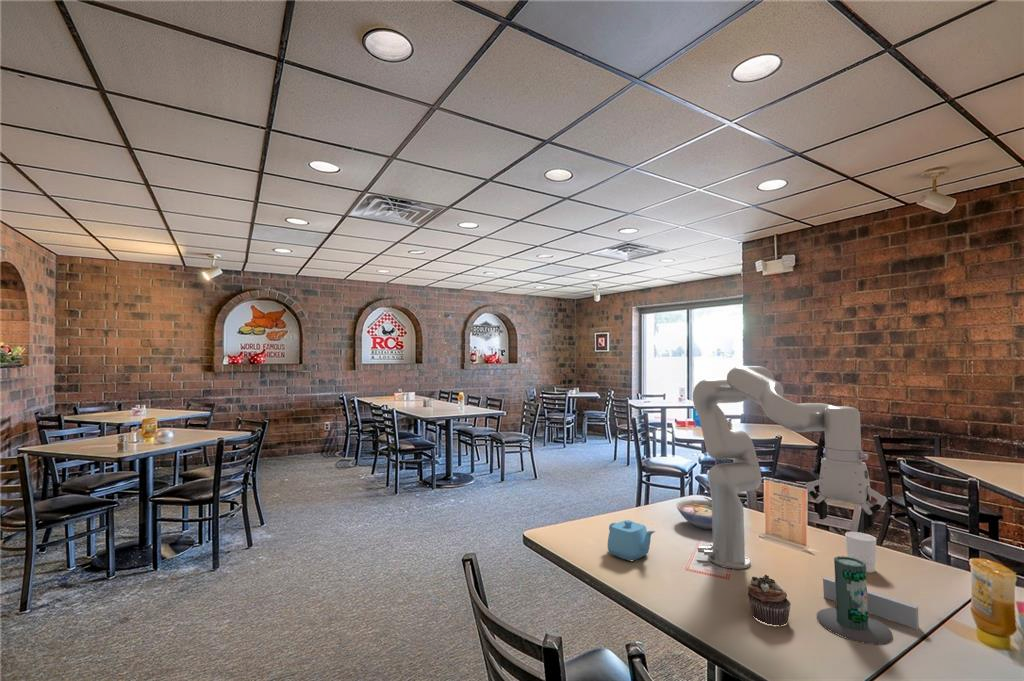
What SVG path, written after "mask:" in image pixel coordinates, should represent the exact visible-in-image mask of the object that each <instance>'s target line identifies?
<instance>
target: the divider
mask: <svg viewBox="0 0 1024 681" xmlns="http://www.w3.org/2000/svg"><path fill="white" fill-rule="evenodd" d="M822 583H823V586H822V587H823V598H825V599H828V600H830V599H831V601H833V600H834V602H836V593H835V579H833V578H829V577H824V578H822ZM867 609H868V612H869V613H868V614H871V613H872V615H874V614H875V615H874V616H877V615H878V616H877V617H879V616H881V617H880V618H882V617H883V619H885V618H887V619H886V620H888V619H890V620H889V621H891V620H892V621H891V622H894V621H895V623H897V622H898V623H897V624H900V623H901V624H900V625H903V626H905V625H906V627H908V626H909V628H911V627H912V629H915V630H918V629H919V627H920V624H919V623H920V621H919V606H917V605H914V604H912V603H909V602H905V601H902V600H899V599H896V598H893V597H889V596H887V595H884V594H883V595H882V594H880V593H876V592H874V591H871V590H868V589H867Z"/></svg>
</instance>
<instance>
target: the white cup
mask: <svg viewBox="0 0 1024 681" xmlns="http://www.w3.org/2000/svg"><path fill="white" fill-rule="evenodd" d="M844 535H845V536H844V537H845V547H846V557H850V558H851V557H852V558H855V559H858V560H860V561H862V562H864V563H865V564H866V574H867V573H868V574H870V573H871V574H873V573H874V572H876V561H877V560H876V559H877V537H875V536H873V535H871V534H868V533H864V532H859V531H846V532H845V534H844Z"/></svg>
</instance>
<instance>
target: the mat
mask: <svg viewBox="0 0 1024 681" xmlns="http://www.w3.org/2000/svg"><path fill="white" fill-rule="evenodd" d="M816 619H818V620H819V622H820V623H821V624H822V625H823V626H824V627H823V626H822V625H821V624H820V623H819V622H818V623H819V624H820V625H821V626H822V627H823V628H825V627H826V628H827V629H826V628H825V629H826V630H828V629H829V630H831V631H832V632H831V631H830V632H831V633H833V632H834V633H833V634H835V633H837V634H839V635H841V636H843V637H842V638H844V637H846V638H845V639H847V638H848V639H847V640H850V639H851V640H850V641H853V640H854V641H853V642H857V641H858V643H861V642H864V643H863V644H867V643H874V644H873V645H883V644H882V643H884V644H887V643H886V642H888V641H890V640H891V639H892V640H893V633H892V631H891V629H890V628H889V627H888V626H887V625H886V624H884V623H882V622H881V621H880V620H877V619H876V618H874V617H872V616H870V615H868V629H866V630H861V631H860V630H854V629H852V628H851V629H850V628H848V627H845V626H843V625H841V624H840V623H838V621H837V620H836V607H826V608H823V609H820V610H818V611H817V613H816ZM818 620H817V621H818ZM829 630H828V631H829ZM837 634H836V635H837ZM839 635H838V636H839ZM841 636H840V637H841ZM892 640H891V641H892ZM891 641H890V642H891ZM879 643H881V644H879ZM888 643H889V642H888Z"/></svg>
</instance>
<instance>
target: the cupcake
mask: <svg viewBox="0 0 1024 681" xmlns="http://www.w3.org/2000/svg"><path fill="white" fill-rule="evenodd" d="M747 591H748V592H747V598H748V602H749V605H750V610H751V613H752V614H753V615H752V614H751V615H752V617H753V616H754V617H755V618H757V619H758V620H760V621H762V622H765V623H767V624H772V625H779V626H781V625H784V624H786V623H787V622H789V617H790V610H791V604H792V603H791V601H790V600H789V599H788V598H787V597H788V594H787V591H785V590H784V589H783V588H782V587H781V586H780V585H779V584H778V582H776V581H775V579H773V578H770V576H769V575H767V574H765V575H763V576H762V577H760V576H759V577H756V576H752V577H751V580H750V583H749V585H748V586H747ZM754 617H753V618H754ZM787 624H788V623H787Z"/></svg>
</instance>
